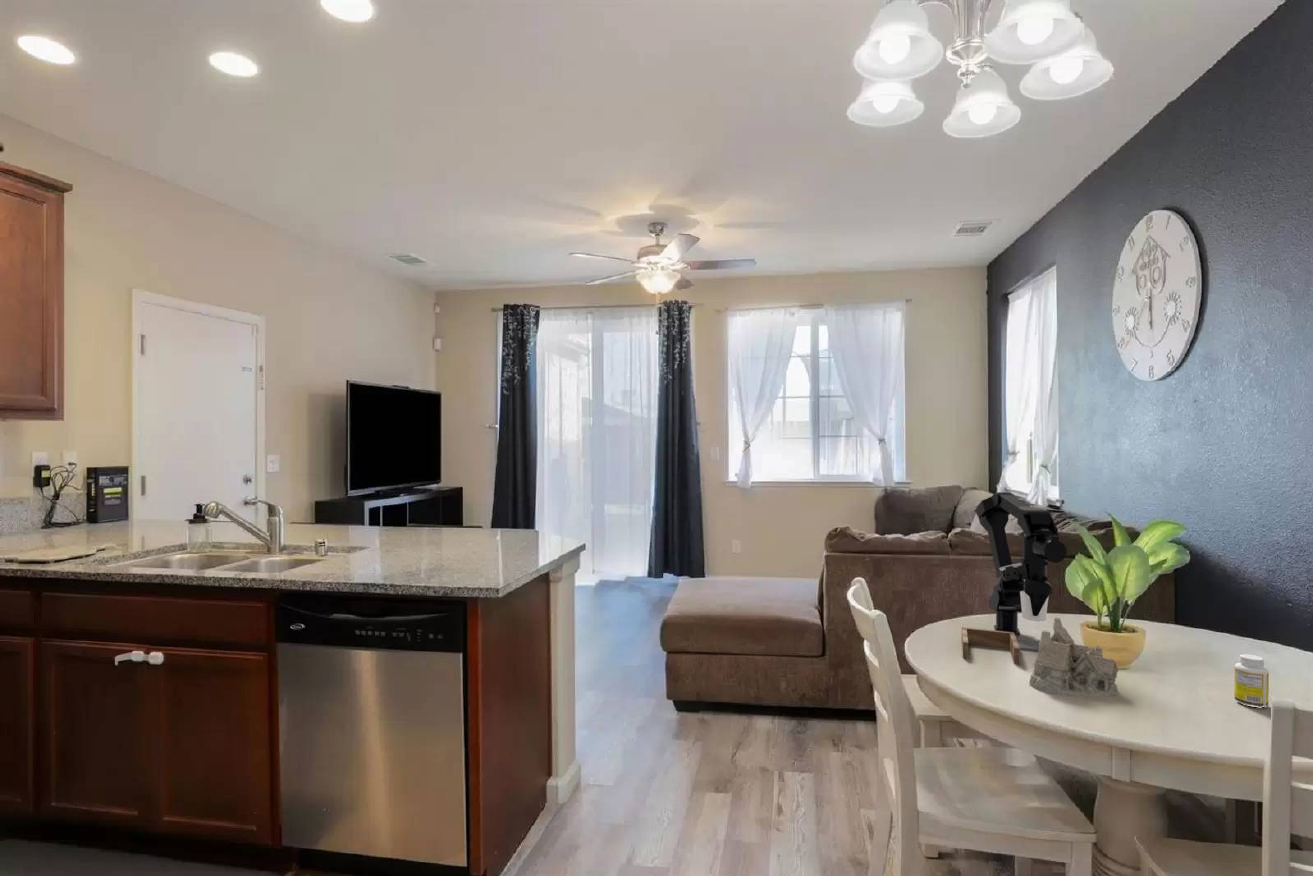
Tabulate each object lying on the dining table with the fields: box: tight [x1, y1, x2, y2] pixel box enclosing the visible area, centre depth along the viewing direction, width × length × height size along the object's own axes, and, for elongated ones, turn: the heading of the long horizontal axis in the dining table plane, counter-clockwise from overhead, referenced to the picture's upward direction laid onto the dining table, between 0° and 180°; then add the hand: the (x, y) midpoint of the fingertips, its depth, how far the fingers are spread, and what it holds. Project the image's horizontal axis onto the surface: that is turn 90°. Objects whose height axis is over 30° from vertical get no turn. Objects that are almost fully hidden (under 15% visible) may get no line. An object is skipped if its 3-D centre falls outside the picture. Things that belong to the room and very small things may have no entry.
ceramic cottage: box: [1028, 617, 1119, 699], centre depth 158 cm, size 16×16×15 cm
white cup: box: [1020, 591, 1050, 622], centre depth 189 cm, size 7×7×7 cm
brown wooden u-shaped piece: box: [961, 626, 1021, 665], centre depth 183 cm, size 16×13×4 cm
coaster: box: [1016, 637, 1040, 653], centre depth 189 cm, size 9×9×1 cm
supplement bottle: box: [1234, 653, 1270, 707], centre depth 149 cm, size 6×6×10 cm
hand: (1033, 613), depth 189 cm, fingers closed on white cup, 6 cm apart
